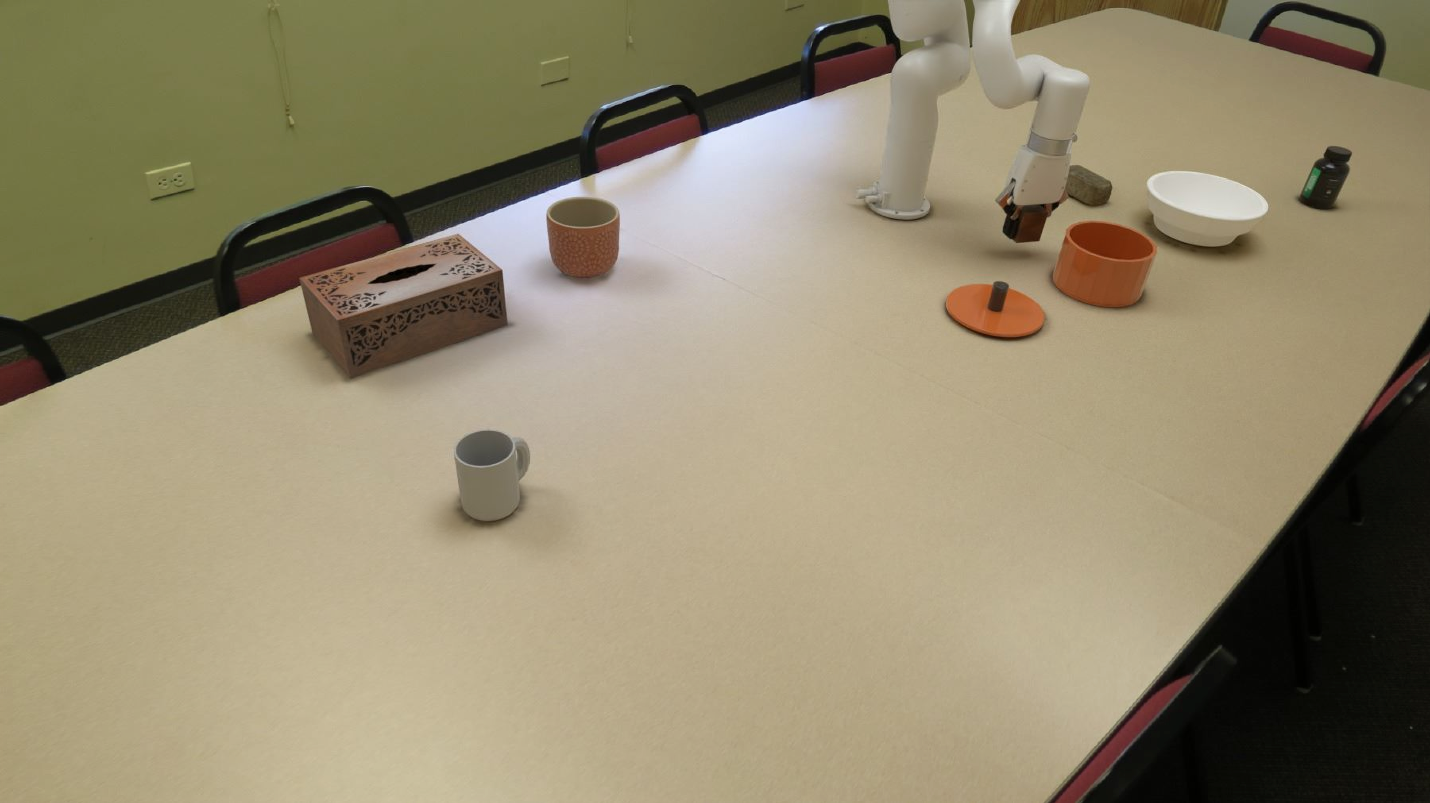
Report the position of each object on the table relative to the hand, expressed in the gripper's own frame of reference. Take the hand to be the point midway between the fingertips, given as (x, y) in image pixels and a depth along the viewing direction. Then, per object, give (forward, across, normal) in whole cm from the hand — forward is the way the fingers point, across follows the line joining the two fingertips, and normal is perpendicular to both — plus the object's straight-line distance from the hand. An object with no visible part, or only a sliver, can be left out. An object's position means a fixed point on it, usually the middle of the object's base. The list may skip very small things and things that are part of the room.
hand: (1021, 233), depth 179 cm
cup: (+5, +102, +46) cm, 111 cm away
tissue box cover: (+6, +110, +4) cm, 111 cm away
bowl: (+4, -42, -1) cm, 42 cm away
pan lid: (+3, +16, +19) cm, 25 cm away
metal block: (0, 0, 0) cm, 0 cm away
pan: (+4, -8, +14) cm, 17 cm away
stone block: (+5, -28, -21) cm, 36 cm away
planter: (+6, +80, -10) cm, 81 cm away
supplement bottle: (+3, -80, -8) cm, 80 cm away
